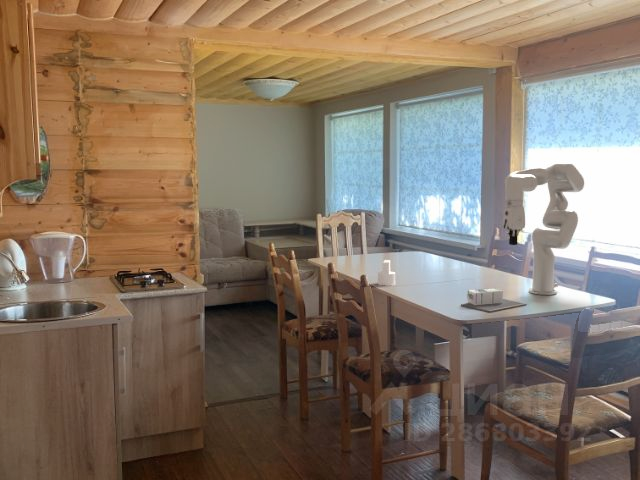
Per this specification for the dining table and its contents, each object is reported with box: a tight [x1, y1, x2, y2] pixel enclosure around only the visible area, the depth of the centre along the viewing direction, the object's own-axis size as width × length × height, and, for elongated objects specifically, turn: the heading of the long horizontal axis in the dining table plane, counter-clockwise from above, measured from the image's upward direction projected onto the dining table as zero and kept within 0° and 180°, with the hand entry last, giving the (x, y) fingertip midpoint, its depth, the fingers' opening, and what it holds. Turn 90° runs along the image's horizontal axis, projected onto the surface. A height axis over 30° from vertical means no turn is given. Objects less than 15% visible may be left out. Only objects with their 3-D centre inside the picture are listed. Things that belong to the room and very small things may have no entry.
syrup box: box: [466, 287, 504, 305], centre depth 282 cm, size 6×6×14 cm
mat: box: [460, 298, 527, 313], centre depth 280 cm, size 24×16×1 cm, turn 125°
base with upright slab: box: [377, 259, 396, 287], centre depth 329 cm, size 9×9×12 cm
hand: (513, 244), depth 286 cm, fingers closed
